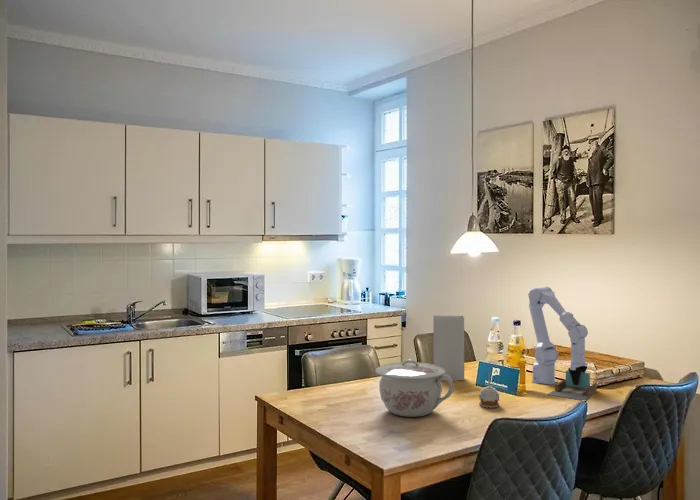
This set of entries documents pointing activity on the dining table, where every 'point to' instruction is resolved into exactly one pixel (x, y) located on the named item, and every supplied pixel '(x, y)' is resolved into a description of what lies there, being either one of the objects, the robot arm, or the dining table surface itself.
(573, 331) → the robot arm
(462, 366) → the tall grey upright panel
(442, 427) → the dining table surface
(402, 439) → the dining table surface
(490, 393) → the caramel apple
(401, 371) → the chamber pot
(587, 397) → the slate mat
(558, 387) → the offcut rack
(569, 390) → the offcut upper
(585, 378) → the teal sheet
